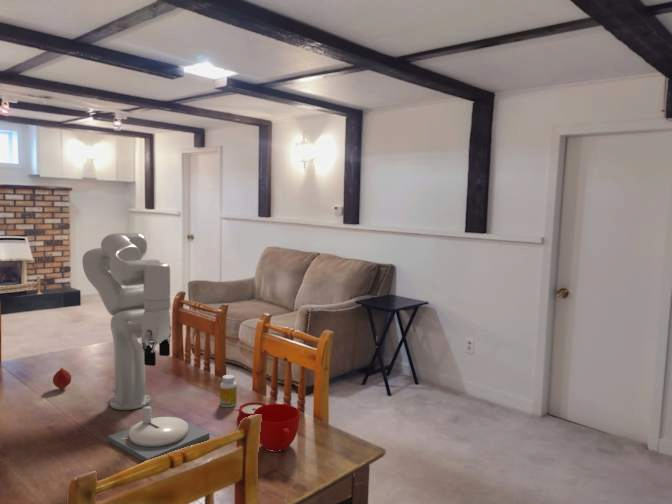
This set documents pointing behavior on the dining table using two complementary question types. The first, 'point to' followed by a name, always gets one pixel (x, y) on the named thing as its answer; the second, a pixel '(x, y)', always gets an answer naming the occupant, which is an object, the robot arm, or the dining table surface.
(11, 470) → the dining table surface
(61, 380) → the onion
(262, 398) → the dining table surface
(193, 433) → the base plate
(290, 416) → the ceramic cup
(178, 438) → the turntable
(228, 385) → the supplement bottle
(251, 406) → the alarm clock
